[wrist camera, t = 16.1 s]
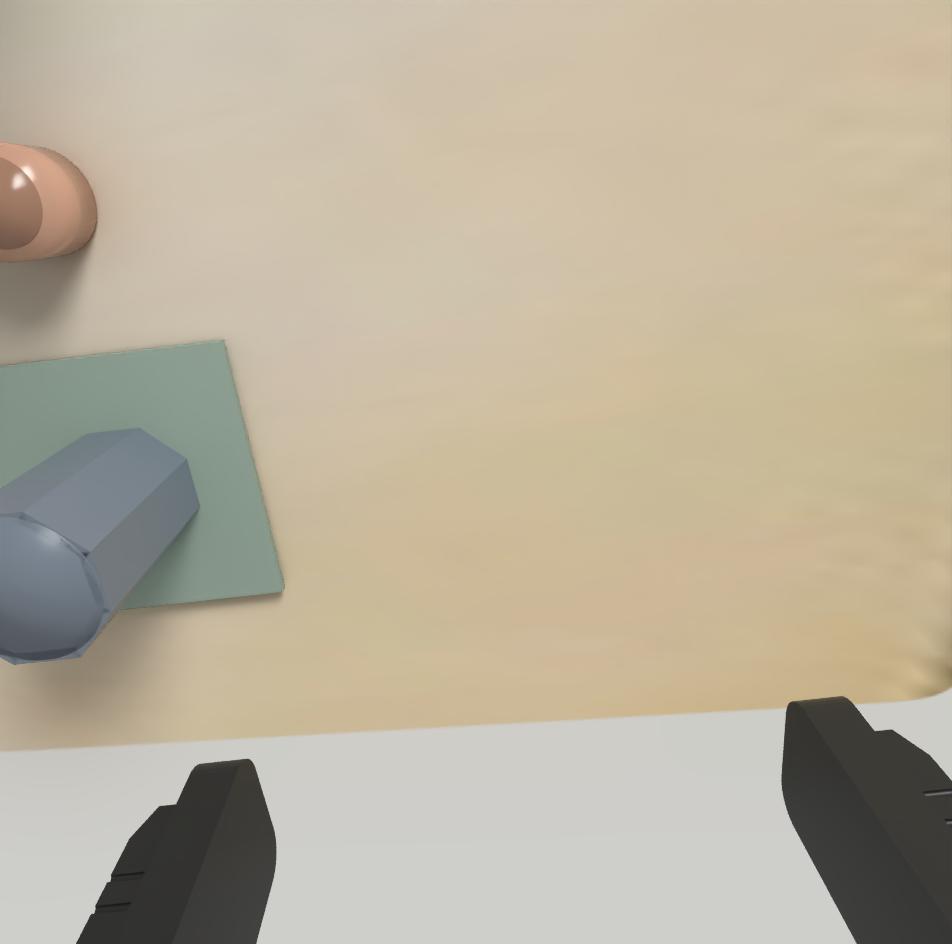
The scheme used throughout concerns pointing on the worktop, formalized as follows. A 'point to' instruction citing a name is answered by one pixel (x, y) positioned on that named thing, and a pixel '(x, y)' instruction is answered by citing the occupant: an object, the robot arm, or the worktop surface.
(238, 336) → the worktop surface
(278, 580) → the mat
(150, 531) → the grey octagonal prism
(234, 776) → the robot arm
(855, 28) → the worktop surface
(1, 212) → the cylinder
